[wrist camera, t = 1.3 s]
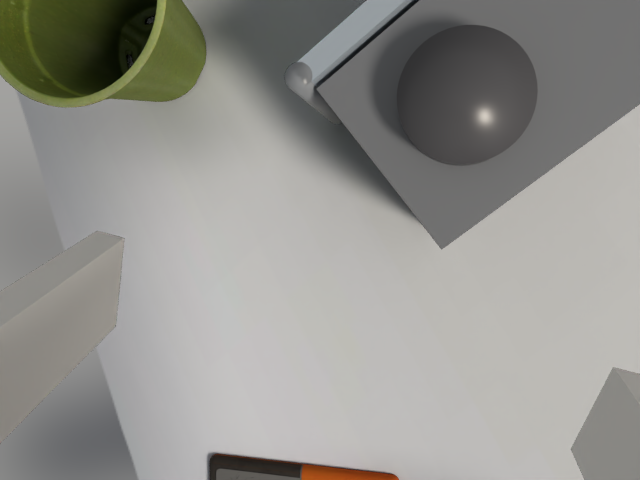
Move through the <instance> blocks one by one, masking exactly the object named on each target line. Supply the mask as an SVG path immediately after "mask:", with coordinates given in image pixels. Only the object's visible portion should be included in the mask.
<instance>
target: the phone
mask: <svg viewBox="0 0 640 480" xmlns="http://www.w3.org/2000/svg"><path fill="white" fill-rule="evenodd" d="M210 480H399V479H398V477H397V476H395V475H393V474H386V473H377V472H369V471H360V470H351V469H343V468H334V467H325V466H317V465H308V464H299V463H291V462H282V461H273V460H265V459H256V458H247V457H239V456H230V455H221V454H215V455H213V456H212V457H211V459H210Z"/></svg>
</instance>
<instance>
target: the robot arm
mask: <svg viewBox="0 0 640 480" xmlns="http://www.w3.org/2000/svg"><path fill="white" fill-rule="evenodd" d="M123 248H124V238H122V237H119V236H115V235H111V234H107V233H103V232H100V231H96V232H94V233H93V234H91V235H89V236H88V237H86V238H85V239H83V240H81V241H80V242H78V243H77V244H75V245H73V246H72V247H70V248H69V249H67V250H65V251H64V252H62V253H61V254H59V255H57V256H56V257H54V258H53V259H51V260H49V261H48V262H46V263H45V264H43V265H41V266H40V267H38V268H37V269H35V270H33V271H32V272H30V273H29V274H27V275H25V276H24V277H22V278H21V279H19V280H17V281H16V282H14V283H13V284H11V285H10V286H8V287H6V288H4V289H3V290H1V291H0V443H1V442H2V441H3V440H4V439H5V438H6V437H7V436H8V435H9V434H10V433H11V432H12V431H13V430H14V429H15V428H16V427H17V426H18V425H19V424H20V423H21V422H22V421H23V420H24V419H25V418H26V417H27V416H28V415H29V414H30V413H31V412H32V411H33V410H34V409H35V408H36V407H37V406H38V405H39V404H40V403H41V402H42V401H43V399H45V398H46V397H47V396H48V395H49V393H50V392H51V391H52V390H53V389H54V388H55V387H56V386H57V385H58V384H59V383H60V382H61V381H62V380H63V379H64V378H65V377H66V376H67V375H68V374H69V373H70V372H71V371H72V370H73V369H74V368H75V367H76V366H77V365H78V364H79V363H80V362H81V361H82V360H83V359H84V358H85V357H86V356H87V355H88V354H89V353H90V352H91V351H92V350H93V349H94V348H95V347H96V346H97V345H98V344H99V343H100V342H101V341H102V340H103V339H104V338H105V337H106V336H107V335H108V334H109V333H110V332H111V331H112V330H113V329H114V328H115V327H116V321H117V310H118V300H119V289H120V279H121V269H122V258H123ZM571 451H572V453H573V455H574V457H575V460H576V462H577V464H578V466H579V469H580V471H581V473H582V475H583V477H584V480H640V374H638V373H634V372H630V371H626V370H623V369H619V368H615V367H613V369H612V370H611V372H610V374H609V376H608V378H607V380H606V382H605V384H604V386H603V388H602V390H601V392H600V394H599V396H598V397H597V399H596V401H595V403H594V405H593V407H592V409H591V411H590V413H589V415H588V417H587V419H586V421H585V423H584V424H583V426H582V428H581V430H580V432H579V434H578V436H577V438H576V440H575V442H574V444H573V446H572V448H571Z"/></svg>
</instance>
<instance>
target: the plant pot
mask: <svg viewBox="0 0 640 480" xmlns="http://www.w3.org/2000/svg"><path fill="white" fill-rule="evenodd" d="M154 15H155V21H154V22H153V23H151V24H147V25H146V24H145V20H146V19H147V18H149V17H151V16H154ZM128 54H129V55H132V61H133V65H132V66H131V68H130V69H129V68H128V63H127V60H126V56H127V55H128ZM205 60H206V44H205V39H204V35H203V33H202V31H201V28H200V27H199V25H198V23H197V22H196V20H195V19H194V17H193V16H192V14H191V13H190V11H189V10H188V9H187V7H186V6H185V4H184V3H183V1H182V0H0V75H1V76H2V77H3V78H4V79H5V81H6V82H8V83H9V84H10V85H11V86H12V87H14V88H15V89H16V90H18V91H19V92H20V93H22V94H23V95H25V96H27V97H28V98H30V99H32V100H35V101H37V102H40V103H43V104H46V105H51V106H56V107H81V106H86V105H90V104H94V103H97V102H100V101H102V100H105V99H110V98H111V99H125V100H140V101H154V102H163V101H171V100H174V99H177V98H179V97H181V96H182V95H184V94H186V93H187V92H188V91H189V90H190V89H191V88H192V87H193V86H194V85H195V83H196V81H197V79H198V77H199V75H200V73H201V71H202V69H203V66H204V64H205Z"/></svg>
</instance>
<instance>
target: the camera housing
mask: <svg viewBox="0 0 640 480" xmlns="http://www.w3.org/2000/svg"><path fill="white" fill-rule="evenodd" d="M317 91H318V92H319V93H320V94H321V96H322V97H323V98H324V99H325V101H326V102H327V103H328V105H329V106H330V107H331V108H332V110H333V111H334V112H335V114H336V115H337V116H338V117H339V119H340V120H341V121H342V123H343V124H344V125H345V126H346V128H347V129H348V130H349V132H350V133H351V134H352V135H353V137H354V138H355V139H356V141H357V142H358V143H359V144H360V146H361V147H362V148H363V149H364V151H365V152H366V153H367V155H368V156H369V157H370V158H371V160H372V161H373V162H374V164H375V165H376V166H377V167H378V169H379V170H380V171H381V173H382V174H383V175H384V176H385V178H386V179H387V180H388V182H389V183H390V184H391V185H392V187H393V188H394V189H395V191H396V192H397V193H398V194H399V196H400V197H401V198H402V199H403V201H404V202H405V203H406V205H407V206H408V207H409V208H410V210H411V211H412V212H413V214H414V215H415V216H416V217H417V219H418V220H419V221H420V223H421V224H422V225H423V226H424V228H425V229H426V230H427V232H428V233H429V234H430V235H431V237H432V238H433V239H434V240H435V242H436V243H437V244H438V246H439V247H440V248H441V249H443V248H444V247H446V246H447V245H448V244H450V243H451V242H453V241H454V240H455V239H457V238H458V237H459V236H461V235H462V234H463V233H465V232H466V231H468V230H469V229H470V228H472V227H473V226H474V225H476V224H477V223H478V222H480V221H481V220H483V219H484V218H485V217H487V216H488V215H489V214H491V213H492V212H493V211H495V210H496V209H498V208H499V207H500V206H502V205H503V204H504V203H506V202H507V201H508V200H510V199H511V198H513V197H514V196H515V195H517V194H518V193H519V192H521V191H522V190H523V189H525V188H526V187H528V186H529V185H530V184H532V183H533V182H534V181H536V180H537V179H538V178H540V177H541V176H543V175H544V174H545V173H547V172H548V171H549V170H551V169H552V168H553V167H555V166H556V165H558V164H559V163H560V162H562V161H563V160H564V159H566V158H567V157H568V156H570V155H571V154H573V153H574V152H575V151H577V150H578V149H579V148H581V147H582V146H583V145H585V144H586V143H587V142H589V141H590V140H592V139H593V138H594V137H596V136H597V135H598V134H600V133H601V132H602V131H604V130H605V129H607V128H608V127H609V126H611V125H612V124H613V123H615V122H616V121H617V120H619V119H620V118H622V117H623V116H624V115H626V114H627V113H628V112H630V111H631V110H632V109H634V108H635V107H637V106H638V105H639V104H640V0H419V1H418V2H417V3H416V4H415V5H414V6H412V7H411V8H410V9H409V10H408V11H407V12H405V13H404V14H403V15H402V16H401V17H400V18H398V19H397V20H396V21H395V22H394V23H393V24H391V25H390V26H389V27H388V28H387V29H386V30H384V31H383V32H382V33H381V34H380V35H379V36H377V37H376V38H375V39H374V40H373V41H372V42H370V43H369V44H368V45H367V46H366V47H365V48H363V49H362V50H361V51H360V52H359V53H358V54H357V55H355V56H354V57H353V58H352V59H351V60H350V61H348V62H347V63H346V64H345V65H344V66H343V67H341V68H340V69H339V70H338V71H337V72H336V73H334V74H333V75H332V76H331V77H330V78H329V79H327V80H326V81H325V82H324V83H323V84H322V85H320V86H319V87H318V88H317Z"/></svg>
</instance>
